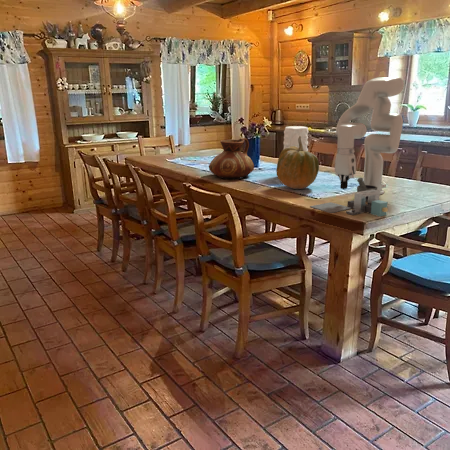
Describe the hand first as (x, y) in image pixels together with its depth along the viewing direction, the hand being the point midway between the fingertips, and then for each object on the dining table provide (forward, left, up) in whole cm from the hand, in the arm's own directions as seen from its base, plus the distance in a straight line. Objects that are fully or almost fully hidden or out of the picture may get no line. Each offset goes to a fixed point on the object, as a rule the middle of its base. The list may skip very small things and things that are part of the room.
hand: (343, 188), depth 217 cm
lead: (+1, +13, -8) cm, 15 cm away
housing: (+1, +15, -8) cm, 17 cm away
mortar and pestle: (-15, +1, -8) cm, 17 cm away
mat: (+11, +2, -8) cm, 13 cm away
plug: (+2, +23, -8) cm, 25 cm away
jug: (+3, -96, -8) cm, 96 cm away
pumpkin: (-7, -42, -8) cm, 43 cm away
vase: (-32, -72, -8) cm, 79 cm away
